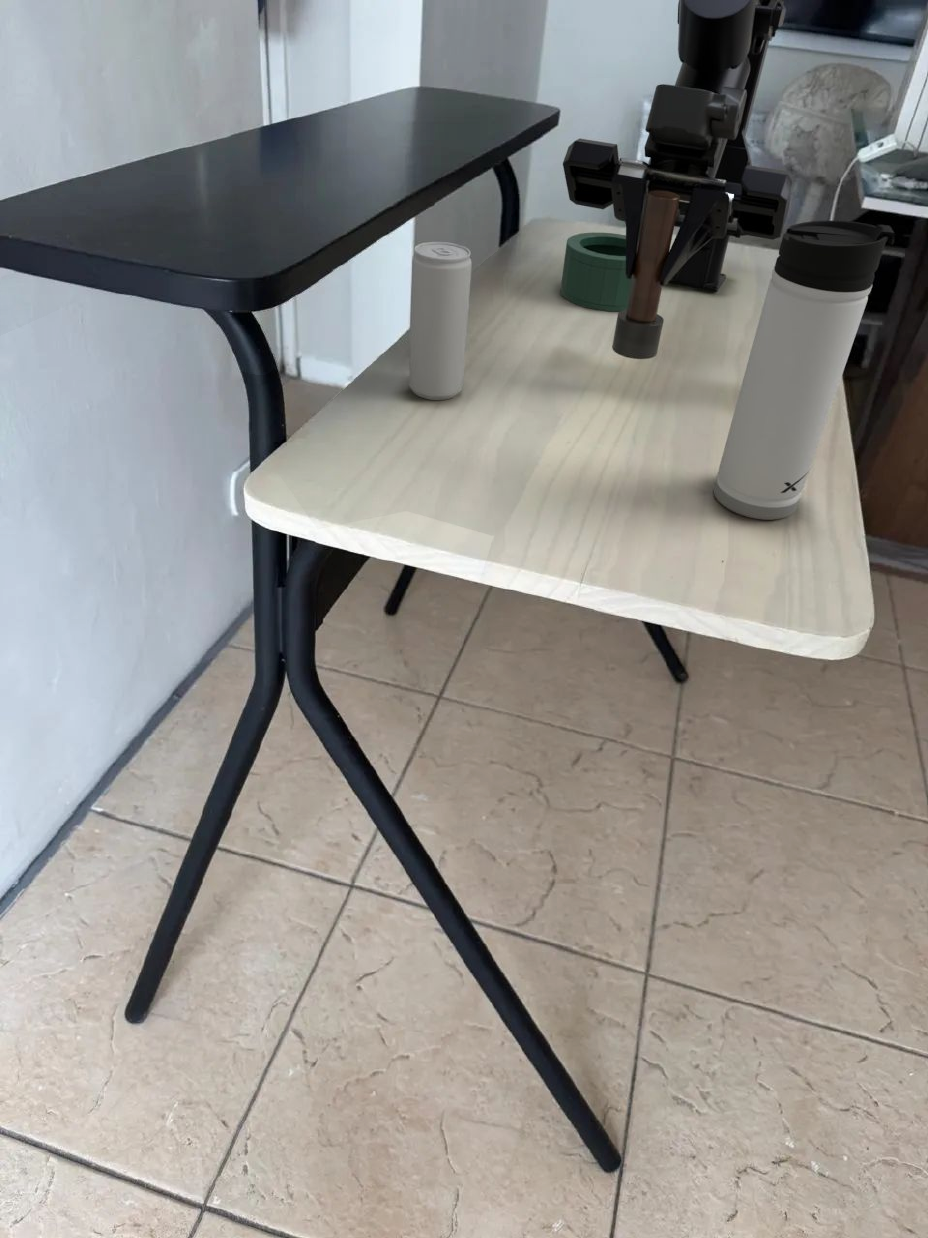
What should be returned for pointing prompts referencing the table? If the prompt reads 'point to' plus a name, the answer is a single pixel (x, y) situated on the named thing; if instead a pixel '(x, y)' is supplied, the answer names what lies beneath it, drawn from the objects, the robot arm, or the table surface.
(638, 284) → the brush
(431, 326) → the beverage can
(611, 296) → the jar
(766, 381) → the travel mug
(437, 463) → the table surface
